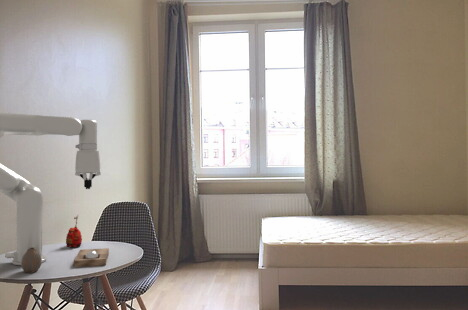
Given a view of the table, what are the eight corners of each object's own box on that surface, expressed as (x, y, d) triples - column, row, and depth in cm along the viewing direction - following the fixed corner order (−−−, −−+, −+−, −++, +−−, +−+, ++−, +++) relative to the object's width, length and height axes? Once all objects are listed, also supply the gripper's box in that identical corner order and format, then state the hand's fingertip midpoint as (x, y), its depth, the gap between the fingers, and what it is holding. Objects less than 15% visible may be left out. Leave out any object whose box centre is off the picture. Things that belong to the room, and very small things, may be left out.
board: (74, 267, 159) (74, 260, 159) (80, 255, 177) (80, 249, 177) (105, 265, 162) (105, 258, 162) (108, 253, 180) (108, 248, 180)
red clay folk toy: (62, 247, 192) (62, 215, 192) (74, 244, 198) (74, 213, 198) (74, 248, 188) (74, 216, 188) (85, 245, 195) (85, 214, 195)
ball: (81, 258, 165) (91, 265, 167) (84, 259, 161) (94, 266, 163) (88, 248, 167) (98, 254, 169) (92, 248, 163) (102, 255, 165)
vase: (33, 274, 150) (33, 251, 150) (17, 273, 151) (17, 249, 151) (45, 269, 157) (45, 246, 157) (29, 267, 158) (29, 245, 158)
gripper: (68, 147, 174) (68, 189, 174) (105, 147, 177) (104, 189, 177) (71, 147, 181) (71, 188, 181) (106, 147, 184) (106, 187, 185)
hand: (88, 188), depth 179 cm, fingers closed
